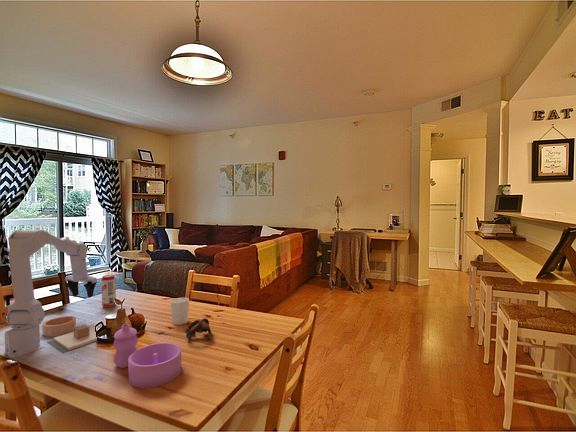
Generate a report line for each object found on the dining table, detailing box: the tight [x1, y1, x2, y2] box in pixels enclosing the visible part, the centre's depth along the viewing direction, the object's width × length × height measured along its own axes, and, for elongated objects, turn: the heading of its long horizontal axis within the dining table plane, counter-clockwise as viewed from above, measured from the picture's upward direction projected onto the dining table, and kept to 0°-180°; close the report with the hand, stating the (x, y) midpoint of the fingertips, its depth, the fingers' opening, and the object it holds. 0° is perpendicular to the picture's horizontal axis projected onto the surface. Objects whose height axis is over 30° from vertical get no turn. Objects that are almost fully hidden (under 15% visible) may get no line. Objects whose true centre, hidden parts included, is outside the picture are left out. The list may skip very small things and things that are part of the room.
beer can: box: [100, 274, 117, 309], centre depth 158 cm, size 6×6×16 cm
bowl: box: [41, 315, 77, 337], centre depth 127 cm, size 11×11×4 cm
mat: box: [46, 339, 99, 354], centre depth 120 cm, size 18×16×1 cm
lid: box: [53, 324, 99, 350], centre depth 120 cm, size 14×14×4 cm
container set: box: [112, 323, 182, 389], centre depth 98 cm, size 25×15×13 cm, turn 65°
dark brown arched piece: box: [184, 317, 213, 341], centre depth 122 cm, size 12×10×8 cm
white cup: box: [169, 297, 190, 326], centre depth 137 cm, size 8×8×10 cm
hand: (83, 296), depth 141 cm, fingers open, 7 cm apart
